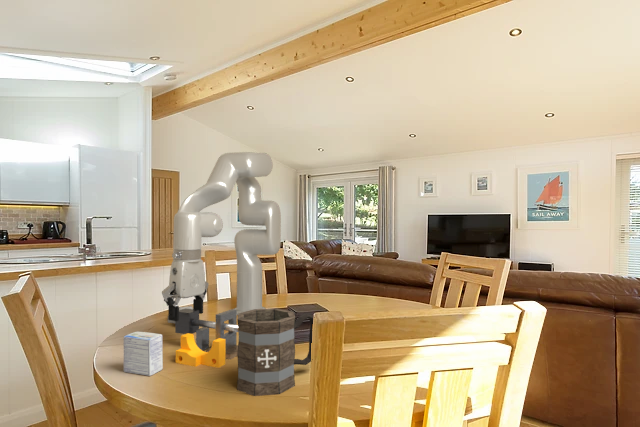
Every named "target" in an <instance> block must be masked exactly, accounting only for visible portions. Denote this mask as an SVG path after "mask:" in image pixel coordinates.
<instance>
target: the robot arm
mask: <svg viewBox="0 0 640 427" xmlns="http://www.w3.org/2000/svg"><path fill="white" fill-rule="evenodd" d="M273 165H274V164H273V159H272V157H271V156H270V155H269V154H268V153H266V152H256V151H255V152H254V151H253V152H252V151H242V152H240V151H239V152H225V153H223V154H221V155H220V156H219V157H218V158H217V161H216V162H215V164H214V167H213V168H212V171H211V173H210V175H209V176H208V178H207V181H206V183H205V184H203V185H202V186H200V187H199V188H197V189H196V190H194V191H192V193H191V194H189V195H188V196H187V197H186V198H185V199H184V200H183V201H182V202H181V205H180V207H179V209H178V211H177V213H175V214H174V217H173V242H172V243H173V245H172V246H173V247H172V250H173V251H172V254H171V257H172V262H171V265H170V271H169V281H168V286H167V287H165V288H164V289H163V290H162V291H161V295H162V298H163V301H164V302H165V303H166V306H168V310H167V311H168V313H167V314H168V315H167V321H168V320H171V321H178V320H179V307H180V306H179V303H180V301H181V299H188V298H192V297H194V299H193V301H192V302H193V305H192V307H193V309H194V310H199V315H202V314H204V300H205V298H206V294H207V292H208V288H209V282H207V281H206V275H205V274H206V273H205V266H204V261H203V259H202V238H214V237H216V236H218V235H219V234H221V233H222V230H223V227H224V222H223V219H222V218H221V216H220V215H218V213H215V212H212V211H211V212H207V211H203V210H204V209H206V208H208V207H210V206H212V205H216V204H218V203H220V202H223V201H225V200H227V199H228V198H229V197H230V196H231V194H232V192H233V190H234V188H235V185H237V190H238V220H239V222H240V224H241V225H245V226H252V227H253V226H258V227H259V226H260V227H262V226H264V227H265V229H264V228H263V229H262V228H259V229H257V228H246V229H241V230H239V231H238V232H237V233H236V234H235V236H234V239H233V241H234V249H235V255H236V307H235V308H233V309H236V310H237V316H238V313H242V312H246V311H250V310H253V309H267V308H266V307H265V306H263V264H262V261H261V260H260V258H259V257H258V256H259V255H260V256H261V255H263V256H264V255H265V256H273V255H276V254H278V253H279V251H280V250H281V245H282V244H281V242H282V241H281V240H282V238H281V234H282V233H281V232H282V230H281V229H282V228H281V227H282V224H281V223H282V218H281V216H282V215H281V209H280V206H279V204H278V203H277V202H276V201H274V200H262V187H261V184H260V183H259V181H258V180H257V179H256V178H261V177H262V178H263V177H269V175H270V174H271V173H272V171H273Z"/></svg>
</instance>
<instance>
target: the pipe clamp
mask: <svg viewBox="0 0 640 427" xmlns="http://www.w3.org/2000/svg"><path fill="white" fill-rule="evenodd" d="M194 334H195V333H193V334H189V333H187V334H181V335H180V348H178V349H176V350H175V364H180V365H183V366H190V367H194V368H196V367H198V366H200V365H202V366H208V367H212V368H216V369H217V368H218V369H220V368H222V367H224V366H225V365H226V358H225V347H226V339H222V338H218V339H216V338H215V339H214V340H212V344H211V347H210V348H211V349H210V348H209V349H210V351H209V352H206V351H204V350H203V351H202V350H201V349H199V347H198V346H197V345H196V339H195V336H194Z"/></svg>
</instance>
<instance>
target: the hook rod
mask: <svg viewBox="0 0 640 427" xmlns="http://www.w3.org/2000/svg"><path fill="white" fill-rule="evenodd" d="M174 324H175V327H174V328H175V332H174V333H176V334H180V335H184V334H187V333H189V334H196V330H197V329H200V328H203V327H206V328H209V329H214V330H216V321H212V320H205V319H200V314H199V310H194V309H187V308H185V309H182V310H179V320H178V321H175V323H174ZM224 331H227V332H228V331H233V332H237V333H239V330H238V324H237V325H234V324H228V323H225V322H224Z"/></svg>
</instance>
